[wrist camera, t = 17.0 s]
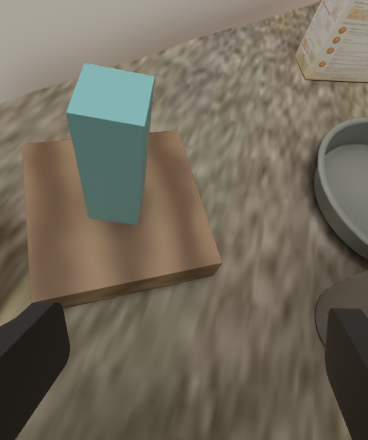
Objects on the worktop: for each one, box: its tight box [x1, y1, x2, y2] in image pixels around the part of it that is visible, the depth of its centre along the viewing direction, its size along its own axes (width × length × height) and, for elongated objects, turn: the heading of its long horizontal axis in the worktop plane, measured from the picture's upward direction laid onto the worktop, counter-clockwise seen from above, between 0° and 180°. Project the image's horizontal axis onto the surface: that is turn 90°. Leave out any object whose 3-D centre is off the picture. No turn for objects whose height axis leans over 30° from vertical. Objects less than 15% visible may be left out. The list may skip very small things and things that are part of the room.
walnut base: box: [22, 130, 222, 308], centre depth 36 cm, size 18×18×4 cm
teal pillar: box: [66, 63, 154, 225], centre depth 28 cm, size 5×5×14 cm
